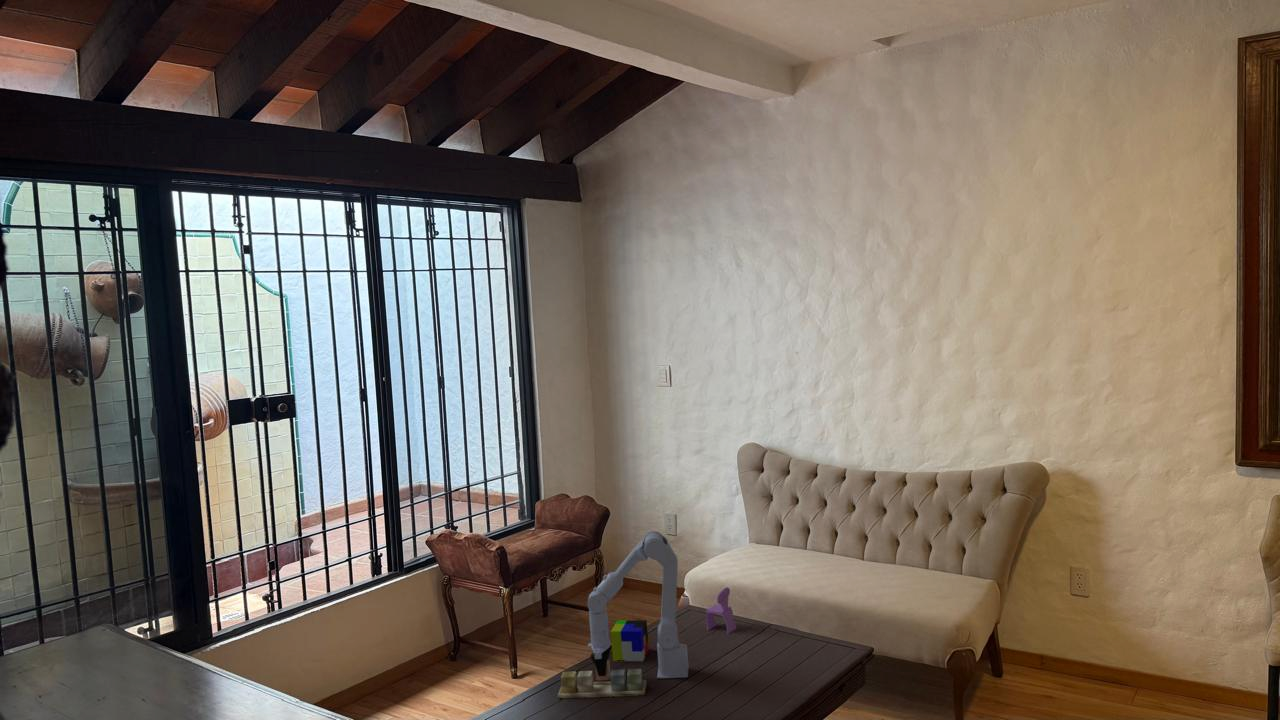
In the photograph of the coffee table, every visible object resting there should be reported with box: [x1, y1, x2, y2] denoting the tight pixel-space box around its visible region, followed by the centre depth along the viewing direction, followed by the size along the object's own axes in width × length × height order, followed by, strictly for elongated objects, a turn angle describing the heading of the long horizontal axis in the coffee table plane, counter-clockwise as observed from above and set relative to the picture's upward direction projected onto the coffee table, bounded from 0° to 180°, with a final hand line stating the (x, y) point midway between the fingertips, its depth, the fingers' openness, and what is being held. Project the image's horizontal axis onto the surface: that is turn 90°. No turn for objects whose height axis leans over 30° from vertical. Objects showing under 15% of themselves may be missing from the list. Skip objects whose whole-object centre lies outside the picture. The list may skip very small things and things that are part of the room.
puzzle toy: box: [610, 619, 650, 662], centre depth 293 cm, size 10×10×10 cm
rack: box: [557, 668, 647, 699], centre depth 267 cm, size 26×8×6 cm, turn 85°
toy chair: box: [705, 586, 738, 635], centre depth 310 cm, size 8×9×15 cm
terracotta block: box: [594, 659, 611, 682], centre depth 276 cm, size 4×4×5 cm
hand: (603, 672), depth 276 cm, fingers closed on terracotta block, 4 cm apart
